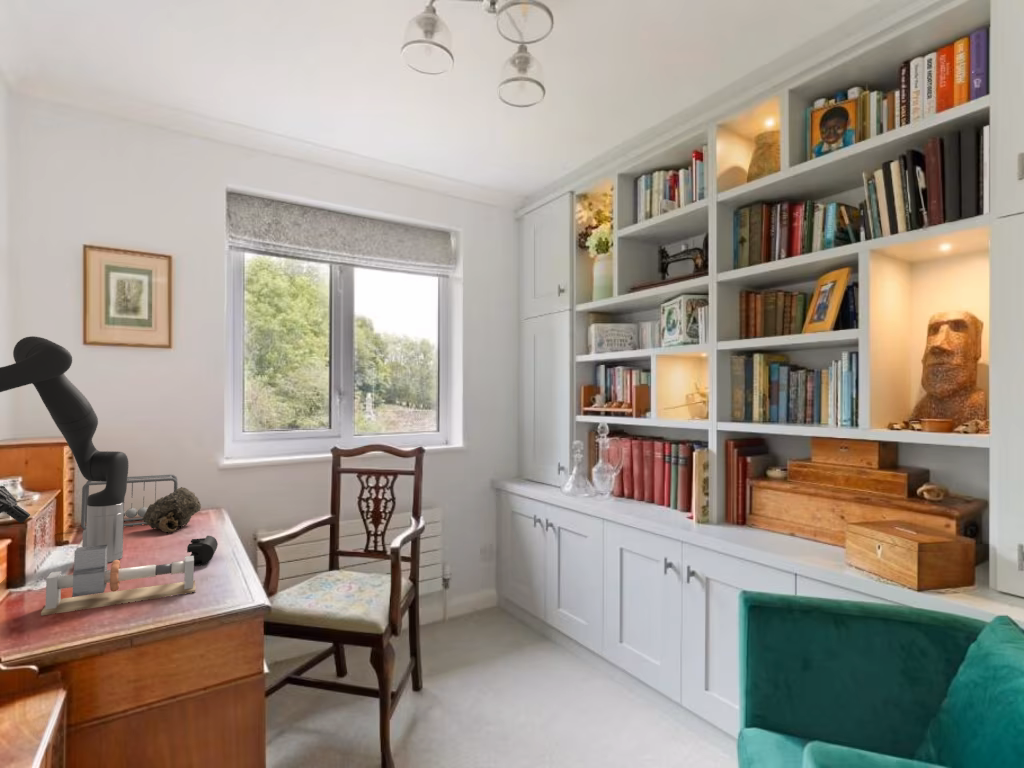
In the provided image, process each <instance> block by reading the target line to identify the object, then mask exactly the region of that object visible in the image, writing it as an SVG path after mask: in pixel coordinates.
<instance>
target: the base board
mask: <svg viewBox="0 0 1024 768" xmlns="http://www.w3.org/2000/svg"><path fill="white" fill-rule="evenodd" d="M192 592H195V593H196V580H194V579H193V588H191V589H184V581H181V582H174V583H167V584H166V583H165V584H160V585H159V584H158V585H153V586H152V585H151V586H146V587H145V586H144V587H137V588H131V589H122V590H117V591H114V592H113V591H108V592H104V593H98V594H91V595H84V596H77V597H64V598H60V602H59V604H58V606H57V608H52V609H46V610H45V606H44V607H43V608H42V610H41V612H40V616H47V615H54V614H55V613H56V614H61V613H68V612H69V613H70V612H74V611H75V610H76V611H83V610H88V609H95V608H101V607H108V606H116V605H122V604H121V603H123V604H128V602H130V603H135V601H136V602H142V601H141V600H143V601H148V599H150V600H155V599H154V598H157V599H161V598H160V597H163V598H166V597H165V596H170V597H172V596H171V595H177V594H183V595H186V594H185V593H190V594H193V593H192ZM177 596H178V595H177ZM115 604H116V605H115ZM82 609H83V610H82Z"/></svg>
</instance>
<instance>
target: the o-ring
mask: <svg viewBox="0 0 1024 768" xmlns="http://www.w3.org/2000/svg"><path fill="white" fill-rule="evenodd" d="M119 569H122V568H121V561H120V559H119V560H114V561H112V562H111V566H110V570H111V573H110V583H109V588H110V592H114V591H119V588H120V587H119V586H120V582H121V581H118V571H119Z"/></svg>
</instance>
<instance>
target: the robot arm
mask: <svg viewBox="0 0 1024 768" xmlns="http://www.w3.org/2000/svg"><path fill="white" fill-rule="evenodd" d="M12 354H13V359H14V363H11V364H8V365H5V366H1V367H0V393H3V392H7V391H11V390H12V389H16V388H21V387H24V386H28V385H31V384H32V385H33V386H34V388H35V390H36V391H37V393H38V395H39V396H40V399H41V400H42V403H43V404H44V406H45V408H46V410H47V411H48V413H49V415H50V417H51V419H52V420H53V422H54V424H55V425H56V427H57V429H58V431H60V433H61V435H62V436H63V437H64V439H65V441H66V443H67V444H68V447H69V448H70V451H71V452H72V454H73V455H72V456H73V457H74V459H75V462H76V464H77V467H78V469H79V471H80V473H81V475H82V477H83V478H84V479H85V480H87V481H88V480H89V481H95V482H106V484H105V487H104V489H102V490H101V491H97V492H94V493H92V494H89V496H88V498H87V524H86V525H85V526H86V530H84V529H83V530H82V543H81V545H82V546H81V547H89V546H98V545H107V563H113V561H114V560H119V561H120V559H123V557H124V556H123V555H124V554H123V553H124V528H125V527H124V524H125V522H124V519H125V516H124V511H125V498H126V497H125V496H126V493H127V486H128V483H127V477H129V476H128V475H129V458H128V455H127V454H126V453H125V452H123V451H112V450H111V451H108V450H107V451H103V450H102V451H100V450H98V449H97V447H96V446H95V445H94V443H93V437H94V435H95V433H96V431H97V428H98V425H99V418H98V416H97V413H96V412H95V410H94V408H93V406H92V404H91V403H90V401H89V400H88V398H87V397H86V396H85V395H84V394H83V393H82V392H81V391H80V390H79V388H78V387H77V386H75V384H73V382H71V380H70V379H69V378H68V377H67V376H66V375H65V373H67V371H68V370H69V369H70V368H71V366H72V363H73V357H72V354H71V352H70V351H69V349H66V347H64V346H62V345H61V344H58V343H56V342H54V341H51V340H49V339H46V338H44V337H41V336H36V335H35V336H33V335H32V336H25V337H23V338H21V339H19V340H18V341H17V342H16V344H15V346H14V347H13V352H12ZM1 513H2V514H4V515H7V516H10V517H11V518H12V519H14V520H15V521H16V522H18V523H22V524H23V522H25V521H26V520H27V519H28V518H30V517H31V514H30V513H29V512H27V511H26V510H25V509H24V508H22V507H21V506H20V505H18V500H17V498H15V497H14V495H12V493H11V492H10V491H9V490H8V489H7V488H6V486H3V485H0V514H1Z"/></svg>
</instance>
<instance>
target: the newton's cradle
mask: <svg viewBox="0 0 1024 768" xmlns="http://www.w3.org/2000/svg"><path fill="white" fill-rule="evenodd" d="M168 481H171V482H173V492H174V491H175V490H176V489H178V487H179V484H178V477H177V476H176V475H175V474H155V475H153V474H151V475H135V476H128V477H127V484H131V497H133V493H134V492H133V491H134V490H133V489H134V483H143V490H145V486H146V485H145V484H146V483H151V482H152V483H155V485H154V486H155V488H154V491H155V492H154V493H155V494H154V496H155V497H154V503H155V502H156V501H157V499H156V498H157V482H168ZM101 485H106V482H97V481H89V480H87V481H86V483H85V484H83V486H82V488H81V510H80V511H81V513H80V515H81V516H80V526H81V528H82V530H83V531H84V530H86V526H87V498H88V496H89V495H90V486H101ZM147 509H148V507H147V506H145V497H143V505H142V507H140V508H139V509H138V510H137V508H135V507H133V504H131V507H130V508H128V509H127V510H126V511H125V510H124V517H125V516H126V517H127V518H124V521H130V522H133V523H124V526H130V527H134V526H133V525H141V526H143V525H142V524H146V523H144V521H143V520H142V518H143V517H144V515H145V513H146V511H147ZM137 515H138V516H139V517H137ZM133 520H141V521H142V522H134V521H133Z"/></svg>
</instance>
